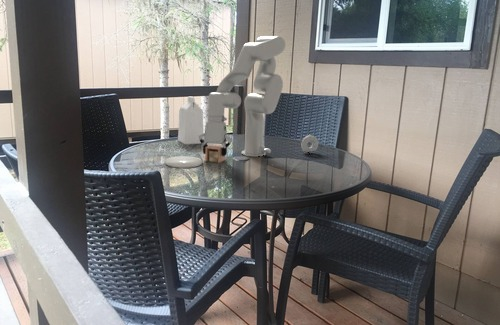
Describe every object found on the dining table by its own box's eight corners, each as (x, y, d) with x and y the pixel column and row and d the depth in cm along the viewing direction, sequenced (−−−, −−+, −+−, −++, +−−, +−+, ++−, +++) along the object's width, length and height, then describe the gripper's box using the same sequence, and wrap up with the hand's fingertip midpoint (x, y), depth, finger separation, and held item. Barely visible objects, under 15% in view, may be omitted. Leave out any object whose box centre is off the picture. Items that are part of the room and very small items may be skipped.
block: (221, 160, 203) (221, 150, 202) (217, 162, 199) (218, 152, 198) (213, 159, 204) (213, 149, 203) (209, 161, 200) (209, 151, 199)
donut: (315, 152, 229) (316, 134, 227) (318, 153, 226) (320, 135, 224) (299, 153, 226) (300, 134, 223) (302, 154, 222) (303, 136, 220)
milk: (177, 140, 246) (177, 95, 240) (196, 139, 251) (196, 95, 245) (184, 144, 236) (184, 98, 229) (203, 143, 241) (204, 97, 235)
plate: (208, 161, 200) (208, 158, 199) (191, 169, 184) (191, 166, 184) (176, 157, 205) (176, 154, 205) (158, 164, 189) (158, 162, 189)
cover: (225, 159, 204) (225, 145, 202) (219, 163, 197) (219, 148, 196) (211, 158, 206) (211, 144, 204) (205, 161, 200) (205, 146, 198)
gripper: (235, 120, 198) (234, 155, 201) (202, 116, 203) (201, 151, 207) (230, 121, 191) (228, 158, 195) (195, 118, 196) (194, 153, 200)
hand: (214, 154), depth 201 cm, fingers open, 9 cm apart
